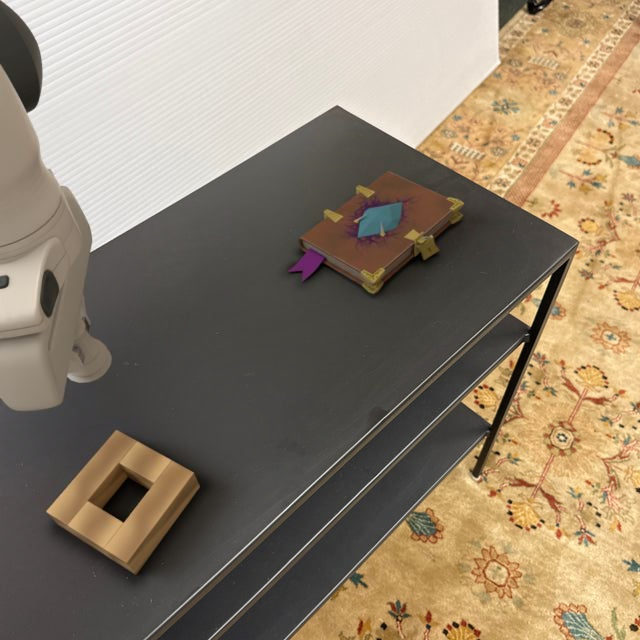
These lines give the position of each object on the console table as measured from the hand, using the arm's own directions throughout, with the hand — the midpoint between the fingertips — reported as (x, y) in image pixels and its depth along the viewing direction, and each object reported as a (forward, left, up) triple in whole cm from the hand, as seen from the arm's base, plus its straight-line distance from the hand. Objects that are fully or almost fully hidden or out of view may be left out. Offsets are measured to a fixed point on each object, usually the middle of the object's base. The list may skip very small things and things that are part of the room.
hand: (78, 348), depth 59 cm
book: (+20, +39, -20) cm, 48 cm away
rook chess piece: (0, 0, -3) cm, 3 cm away
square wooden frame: (+2, -6, -20) cm, 21 cm away
